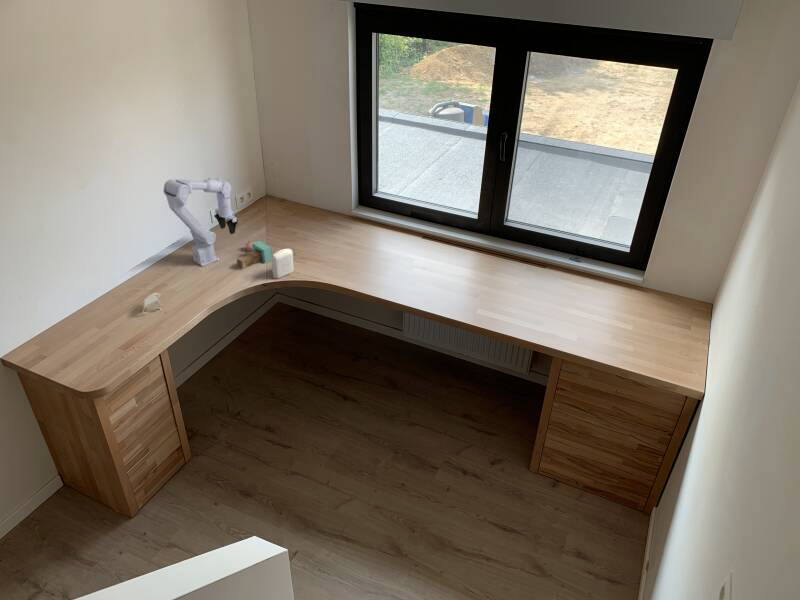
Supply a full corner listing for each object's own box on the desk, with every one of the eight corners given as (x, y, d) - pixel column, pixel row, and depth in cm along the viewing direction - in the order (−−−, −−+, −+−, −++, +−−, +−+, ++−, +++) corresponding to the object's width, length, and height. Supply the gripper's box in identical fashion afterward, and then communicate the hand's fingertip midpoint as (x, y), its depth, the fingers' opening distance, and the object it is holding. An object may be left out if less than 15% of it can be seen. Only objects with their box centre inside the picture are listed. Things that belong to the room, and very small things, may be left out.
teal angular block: (265, 263, 291) (263, 250, 287) (253, 256, 295) (252, 243, 291) (272, 260, 293) (270, 247, 289) (260, 253, 298) (258, 240, 294)
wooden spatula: (241, 269, 285) (240, 261, 283) (237, 267, 287) (236, 259, 284) (272, 256, 296) (272, 248, 294) (268, 253, 298) (268, 246, 296)
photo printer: (289, 268, 288) (288, 245, 281) (295, 271, 285) (293, 248, 278) (271, 276, 281) (269, 252, 274) (277, 279, 279) (275, 256, 272)
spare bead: (250, 253, 298) (249, 246, 296) (245, 250, 300) (244, 243, 298) (258, 250, 300) (257, 243, 298) (252, 247, 303) (251, 240, 301)
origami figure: (163, 315, 254) (160, 305, 251) (141, 316, 252) (139, 306, 250) (167, 298, 263) (165, 289, 261) (146, 300, 262) (144, 290, 259)
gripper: (240, 207, 287) (243, 233, 295) (222, 197, 295) (226, 222, 302) (228, 211, 283) (231, 237, 290) (209, 201, 290) (213, 227, 298)
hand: (227, 230), depth 296 cm, fingers open, 7 cm apart
